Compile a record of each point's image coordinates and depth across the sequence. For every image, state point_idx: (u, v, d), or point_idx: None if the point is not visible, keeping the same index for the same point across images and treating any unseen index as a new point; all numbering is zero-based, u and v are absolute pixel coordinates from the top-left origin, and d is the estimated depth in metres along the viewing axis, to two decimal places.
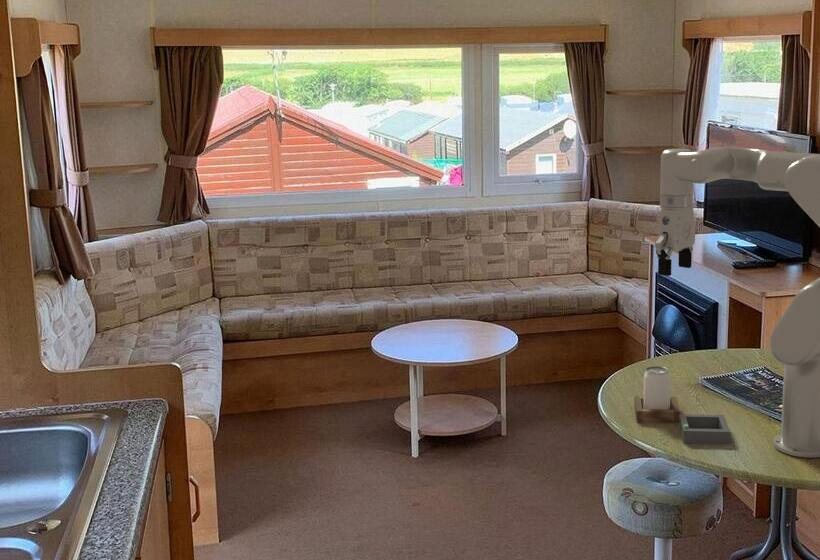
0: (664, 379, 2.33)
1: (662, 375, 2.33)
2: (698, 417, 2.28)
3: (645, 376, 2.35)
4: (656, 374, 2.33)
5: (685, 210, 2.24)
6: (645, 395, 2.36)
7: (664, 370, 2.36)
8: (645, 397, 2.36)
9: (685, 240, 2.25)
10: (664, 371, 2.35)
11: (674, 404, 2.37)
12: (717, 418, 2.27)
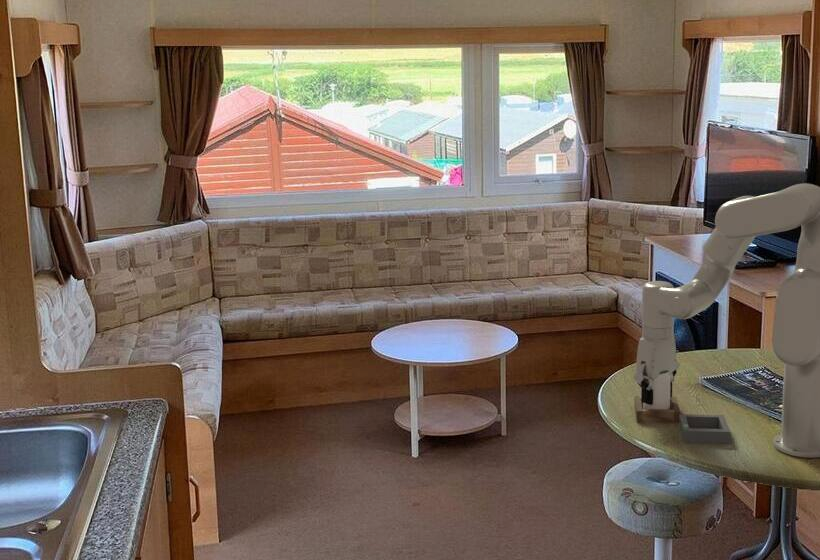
0: (664, 379, 2.33)
1: (662, 375, 2.33)
2: (698, 417, 2.28)
3: None
4: None
5: None
6: None
7: None
8: None
9: None
10: None
11: (674, 404, 2.37)
12: (717, 418, 2.27)
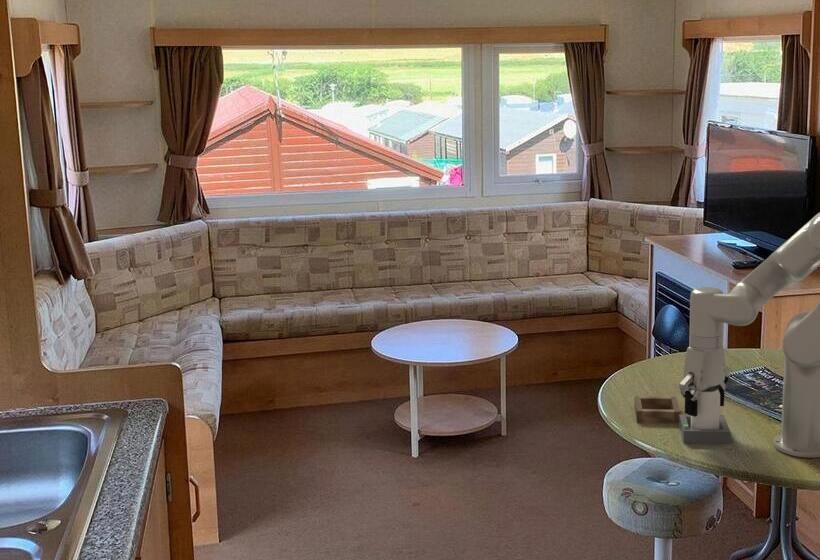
0: (714, 397, 2.20)
1: (712, 393, 2.20)
2: None
3: None
4: (705, 392, 2.20)
5: None
6: None
7: (713, 387, 2.22)
8: (693, 416, 2.23)
9: None
10: (714, 389, 2.21)
11: (674, 404, 2.37)
12: None
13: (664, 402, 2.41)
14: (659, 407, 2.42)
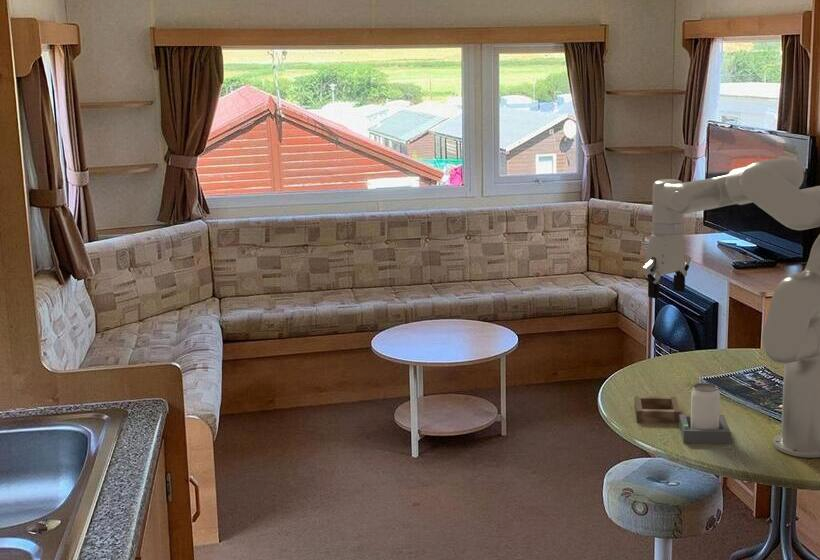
0: (714, 397, 2.20)
1: (712, 393, 2.20)
2: None
3: (693, 394, 2.22)
4: (705, 392, 2.20)
5: None
6: (693, 414, 2.23)
7: (713, 387, 2.23)
8: (693, 416, 2.23)
9: None
10: (713, 389, 2.21)
11: (674, 404, 2.37)
12: None
13: (664, 402, 2.41)
14: (659, 407, 2.42)
